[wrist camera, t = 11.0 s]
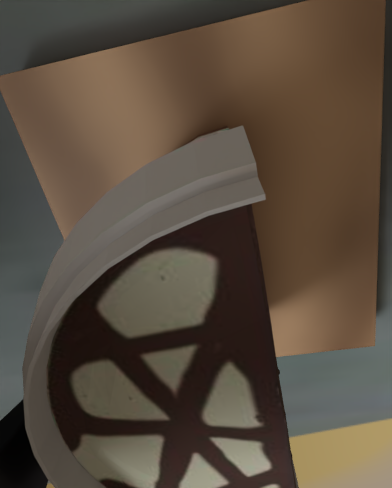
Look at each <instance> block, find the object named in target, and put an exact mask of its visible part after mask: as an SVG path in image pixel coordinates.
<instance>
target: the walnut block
mask: <svg viewBox="0 0 392 488" xmlns="http://www.w3.org/2000/svg"><path fill="white" fill-rule="evenodd" d="M385 7H386V0H307V1H303V2H299V3H295V4H291V5H287V6H283V7H279V8H275V9H271V10H266V11H262V12H258V13H254V14H250V15H246V16H242V17H238V18H234V19H230V20H226V21H222V22H217V23H213V24H209V25H205V26H201V27H197V28H193V29H189V30H185V31H181V32H177V33H173V34H168V35H164V36H160V37H156V38H152V39H148V40H144V41H140V42H136V43H132V44H128V45H124V46H119V47H115V48H111V49H107V50H103V51H99V52H95V53H91V54H87V55H83V56H79V57H75V58H70V59H66V60H62V61H58V62H54V63H50V64H46V65H42V66H38V67H34V68H30V69H26V70H22V71H17V72H13V73H9V74H5V75H1V76H0V91H1V93H2V95H3V98H4V100H5V102H6V105H7V107H8V109H9V112H10V114H11V116H12V119H13V121H14V123H15V126H16V128H17V130H18V133H19V135H20V137H21V140H22V142H23V144H24V147H25V149H26V152H27V154H28V156H29V159H30V161H31V163H32V166H33V168H34V170H35V173H36V175H37V177H38V180H39V182H40V184H41V187H42V189H43V191H44V194H45V196H46V198H47V201H48V203H49V205H50V208H51V210H52V212H53V215H54V217H55V219H56V222H57V224H58V226H59V229H60V231H61V233H62V236H63V238H64V240H66V238H67V237H68V235H69V234H70V232H71V231H72V229H73V228H74V226H75V225H76V223H77V222H78V221H79V220H80V219H81V218H82V217H83V216H84V215H85V214H86V213H87V212H88V211H89V210H90V209H91V208H92V207H93V206H94V205H95V204H96V203H97V202H98V201H99V200H100V199H101V198H102V197H103V196H104V195H105V194H106V193H107V192H108V191H110V190H111V189H112V188H114V187H115V186H116V185H118V184H119V183H121V182H122V181H123V180H125V179H126V178H128V177H129V176H130V175H132V174H133V173H135V172H136V171H137V170H139V169H140V168H142V167H143V166H144V165H146V164H148V163H150V162H152V161H154V160H156V159H158V158H160V157H162V156H164V155H166V154H168V153H170V152H172V151H174V150H176V149H178V148H180V147H182V146H183V145H185V144H186V143H188V142H189V141H191V140H192V139H194V138H195V137H197V136H198V135H200V134H203V133H206V132H210V131H213V130H216V129H219V128H222V127H225V126H228V128H229V129H233V128H236V127H239V126H242V125H243V127H244V130H245V133H246V135H247V138H248V141H249V144H250V147H251V150H252V153H253V156H254V159H255V161H256V167H257V174H258V178H259V181H260V183H261V186H262V188H263V190H264V193H265V198H266V200H262V201H259V202H255V203H252V210H253V215H254V221H255V227H256V232H257V238H258V244H259V249H260V255H261V262H262V268H263V274H264V281H265V287H266V293H267V300H268V306H269V312H270V319H271V325H272V332H273V339H274V346H275V353H276V357H279V356H288V355H297V354H306V353H315V352H324V351H333V350H342V349H351V348H360V347H369V346H375V328H376V296H377V264H378V232H379V200H380V167H381V135H382V103H383V71H384V39H385Z"/></svg>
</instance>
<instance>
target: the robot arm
mask: <svg viewBox="0 0 392 488" xmlns="http://www.w3.org/2000/svg"><path fill="white" fill-rule="evenodd" d="M47 483H48V479H47V477H46V475H45V474H44V472H43V470H42V468H41V467H40V465H39V463H38V461H37V460H36V458H35V456H34V454H33V451H32V448H31V445H30V441H29V438H28V435H27V432H26V429H25V417H24V403H23V400H22V401H21V402H20V403H19V404H18V405H17V406H15V407H14V408H13V409H12V410H11V411H10V412H9V413H8V414H7V415H6V416H5V417H4V418H3V419H2V420H1V421H0V488H46V486H47Z"/></svg>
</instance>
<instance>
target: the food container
mask: <svg viewBox="0 0 392 488" xmlns="http://www.w3.org/2000/svg"><path fill="white" fill-rule="evenodd" d="M262 200H266V198H265V193H264V190H263V188H262V186H261V183H260V181H259V178H258V174H257V167H256V161H255V159H254V156H253V153H252V150H251V147H250V144H249V141H248V138H247V135H246V133H245V130H244V127H243V125H242V126H239V127H236V128H233V129H229V128H228V126H225V127H222V128H219V129H216V130H213V131H210V132H206V133H203V134H200V135H198V136H197V137H195V138H194V139H192V140H191V141H189V142H188V143H186V144H185V145H183V146H182V147H180V148H178V149H176V150H174V151H172V152H170V153H168V154H166V155H164V156H162V157H160V158H158V159H156V160H154V161H152V162H150V163H148V164H146V165H144V166H143V167H142V168H140V169H139V170H137V171H136V172H135V173H133V174H132V175H130V176H129V177H128V178H126V179H125V180H123V181H122V182H121V183H119V184H118V185H116V186H115V187H114V188H112V189H111V190H110V191H108V192H107V193H106V194H105V195H104V196H103V197H102V198H101V199H100V200H99V201H98V202H97V203H96V204H95V205H94V206H93V207H92V208H91V209H90V210H89V211H88V212H87V213H86V214H85V215H84V216H83V217H82V218H81V219H80V220H79V221H78V222H77V223H76V225H75V226H74V228H73V229H72V231H71V232H70V234H69V235H68V237H67V238H66V240H65V241H64V243H63V244H62V246H61V247H60V249H59V250H58V252H57V253H56V255H55V256H54V258H53V261H52V263H51V265H50V268H49V270H48V273H47V275H46V278H45V280H44V283H43V285H42V288H41V290H40V294H39V298H38V301H37V305H36V309H35V312H34V316H33V320H32V323H31V327H30V331H29V334H28V339H27V345H26V351H25V357H24V362H23V368H22V369H23V386H24V397H23V403H24V417H25V429H26V432H27V435H28V438H29V441H30V445H31V448H32V451H33V454H34V456H35V458H36V460H37V461H38V463H39V465H40V467H41V468H42V470H43V472H44V474H45V475H46V477H47V479H48V480H49V481H50V482H51V484H52V485H53V486H54V487H55V488H299V487H298V482H297V478H296V473H295V469H294V464H293V460H292V454H291V450H290V443H289V436H288V429H287V422H286V416H285V415H286V414H285V410H284V404H283V398H282V392H281V387H280V381H279V374H280V371H279V369H278V367H277V360H276V353H275V346H274V339H273V332H272V325H271V319H270V312H269V306H268V300H267V293H266V287H265V281H264V274H263V268H262V262H261V255H260V249H259V244H258V238H257V232H256V227H255V221H254V215H253V210H252V203H255V202H259V201H262Z"/></svg>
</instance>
